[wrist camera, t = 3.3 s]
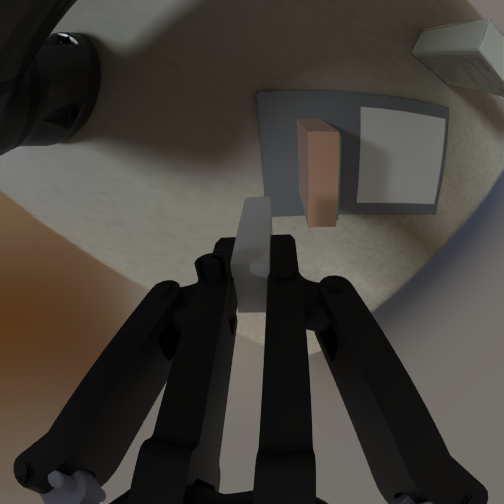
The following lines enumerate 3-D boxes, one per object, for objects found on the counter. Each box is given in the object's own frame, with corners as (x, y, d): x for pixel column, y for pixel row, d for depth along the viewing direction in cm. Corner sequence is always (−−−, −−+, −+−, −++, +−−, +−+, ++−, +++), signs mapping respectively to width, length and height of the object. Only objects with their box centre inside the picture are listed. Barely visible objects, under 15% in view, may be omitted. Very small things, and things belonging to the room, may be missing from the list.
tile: (299, 191, 29) (307, 227, 22) (296, 118, 24) (307, 131, 18) (322, 190, 29) (338, 226, 22) (322, 118, 24) (342, 132, 18)
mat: (266, 214, 32) (265, 217, 31) (256, 92, 24) (256, 92, 23) (432, 212, 29) (434, 214, 29) (446, 106, 22) (449, 107, 21)
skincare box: (459, 61, 18) (531, 70, 8) (447, 87, 20) (520, 104, 10) (420, 27, 17) (490, 16, 7) (407, 53, 19) (478, 49, 9)
